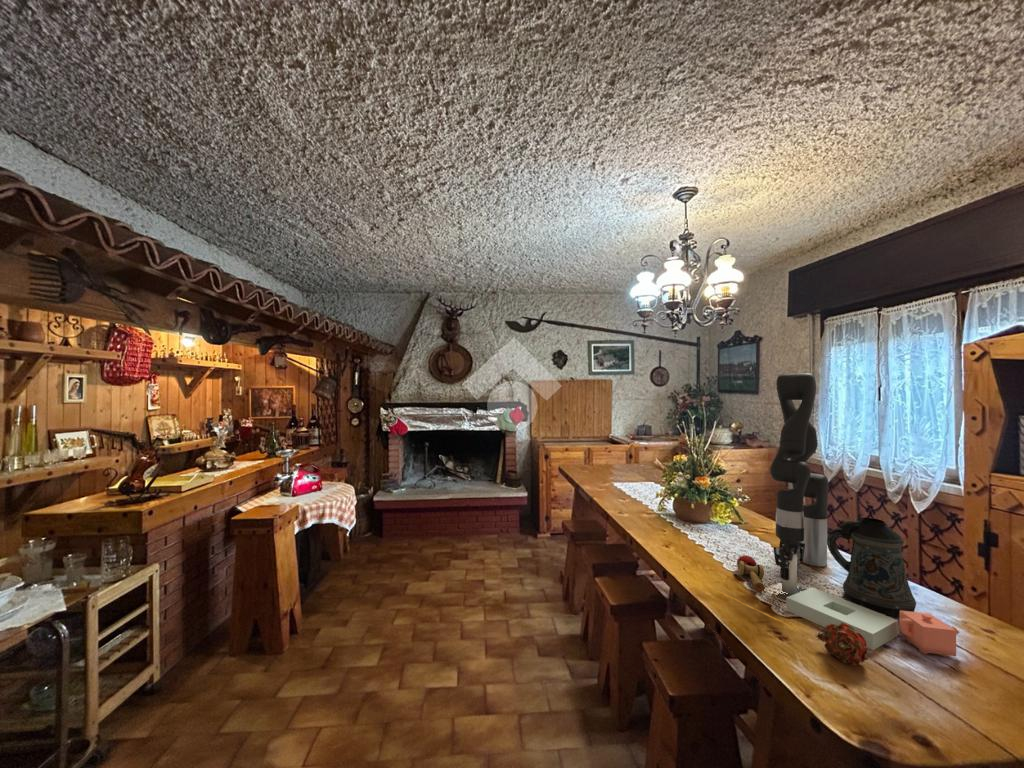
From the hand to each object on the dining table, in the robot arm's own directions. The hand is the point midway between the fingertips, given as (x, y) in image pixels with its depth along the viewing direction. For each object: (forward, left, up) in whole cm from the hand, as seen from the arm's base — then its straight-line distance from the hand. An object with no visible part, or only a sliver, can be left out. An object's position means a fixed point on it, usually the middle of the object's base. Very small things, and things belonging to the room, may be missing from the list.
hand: (789, 577), depth 129 cm
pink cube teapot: (-1, +32, -5) cm, 32 cm away
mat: (0, 0, -5) cm, 5 cm away
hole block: (+6, +16, -5) cm, 18 cm away
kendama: (+3, -10, -5) cm, 11 cm away
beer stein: (-16, +15, -5) cm, 23 cm away
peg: (0, 0, -4) cm, 4 cm away
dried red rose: (+23, +24, -5) cm, 34 cm away
